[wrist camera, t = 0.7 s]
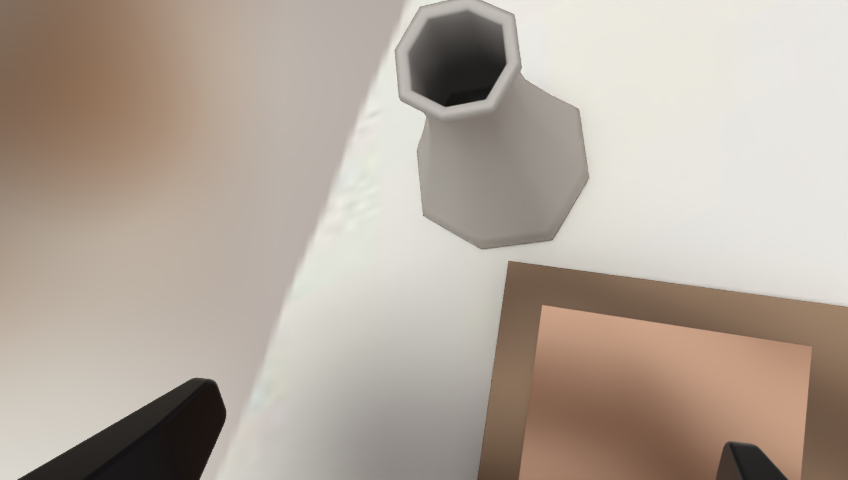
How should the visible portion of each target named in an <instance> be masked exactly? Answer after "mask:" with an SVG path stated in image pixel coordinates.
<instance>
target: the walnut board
mask: <svg viewBox="0 0 848 480" xmlns="http://www.w3.org/2000/svg"><path fill="white" fill-rule="evenodd" d="M728 441H735V442H744V443H751V444H755V445H756V446H758V447H759V448H760V449H761V450H762V451H763V452H764V453H765V454H766V455H767V456H768V457H769V459H770V460H771V461H772V462H773V463H774V464H775V465H776V466H777V467H778V468H779V470H780V471H781V472H782V473H783V474H784V475H785V476H786V477H787V478H788V479H789V480H848V307H844V306H836V305H829V304H821V303H814V302H807V301H799V300H792V299H785V298H777V297H770V296H763V295H755V294H748V293H741V292H733V291H726V290H718V289H711V288H704V287H696V286H689V285H682V284H674V283H667V282H660V281H652V280H645V279H638V278H630V277H623V276H615V275H608V274H601V273H593V272H586V271H579V270H571V269H564V268H557V267H549V266H542V265H535V264H527V263H520V262H513V261H509V262H508V269H507V276H506V283H505V290H504V297H503V304H502V311H501V318H500V325H499V332H498V339H497V346H496V353H495V360H494V367H493V374H492V381H491V388H490V396H489V403H488V410H487V417H486V424H485V431H484V438H483V445H482V452H481V459H480V466H479V473H478V480H716V475H717V471H718V467H719V463H720V459H721V455H722V451H723V447H724V445H725V443H726V442H728Z"/></svg>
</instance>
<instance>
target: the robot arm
mask: <svg viewBox="0 0 848 480" xmlns="http://www.w3.org/2000/svg"><path fill="white" fill-rule="evenodd" d="M225 419H226V408H225V405H224V403H223V399H222V397H221V394H220V391H219V388H218V385H217V383H216V382H215V381H214V380H211V379H204V378H193V379H191V380H189V381H187V382H185V383H184V384H182V385H180V386H178V387H177V388H175V389H173V390H172V391H170V392H168V393H166V394H165V395H163V396H161V397H159V398H158V399H156V400H154V401H152V402H151V403H149V404H147V405H146V406H144V407H142V408H140V409H139V410H137V411H135V412H133V413H132V414H130V415H128V416H127V417H125V418H123V419H121V420H120V421H118V422H116V423H114V424H113V425H111V426H109V427H108V428H106V429H104V430H102V431H101V432H99V433H97V434H96V435H94V436H92V437H91V438H89V439H87V440H85V441H83V442H82V443H80V444H78V445H76V446H75V447H73V448H71V449H70V450H68V451H66V452H65V453H63V454H61V455H59V456H57V457H56V458H54V459H52V460H51V461H49V462H47V463H45V464H44V465H42V466H40V467H39V468H37V469H35V470H33V471H31V472H30V473H28V474H26V475H25V476H23V477H21V478H19V479H18V480H200V477H201V475H202V473H203V470H204V468H205V466H206V464H207V461H208V459H209V457H210V455H211V452H212V450H213V448H214V446H215V443H216V441H217V439H218V437H219V434H220V432H221V430H222V427H223V425H224V423H225ZM716 480H789V479H788V478H787V477H786V476H785V475H784V474H783V473H782V472H781V471H780V470H779V468H778V467H777V466H776V465H775V464H774V463H773V462H772V461H771V460H770V459H769V457H768V456H767V455H766V454H765V453H764V452H763V451H762V450H761V449H760V448H759V447H758V446H756V445H755V444H751V443H744V442H735V441H728V442H726V443H725V445H724V447H723V451H722V455H721V459H720V463H719V467H718V471H717V475H716Z"/></svg>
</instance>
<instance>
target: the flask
mask: <svg viewBox="0 0 848 480" xmlns="http://www.w3.org/2000/svg"><path fill="white" fill-rule="evenodd" d="M395 59H396V70H397V81H398V92H399V98H400V100H401V101H402V102H404V103H406V104H408V105H410V106H412V107H414V108H416V109H418V110H420V111H422V112H424V114H425V115H426V122H425V126H424V130H423V133H422V136H421V139H420V142H419V144H418V148H417V157H418V168H419V178H420V189H421V199H422V210H423V216H425V217H426V218H428V219H430V220H432V221H433V222H435V223H437V224H439V225H440V226H442V227H444V228H446V229H447V230H449V231H451V232H453V233H454V234H456V235H458V236H460V237H461V238H463V239H465V240H467V241H468V242H470V243H472V244H474V245H475V246H477V247H479V248H481V249H484V248H492V247H500V246H507V245H515V244H523V243H531V242H539V241H547V240H553V238H554V236H555V235H556V233H557V231H558V230H559V228H560V226H561V224H562V223H563V221H564V219H565V218H566V216H567V214H568V212H569V211H570V209H571V207H572V206H573V204H574V202H575V201H576V199H577V197H578V195H579V194H580V192H581V190H582V189H583V187H584V185H585V183H586V182H587V180H588V178H589V174H588V167H587V160H586V154H585V147H584V140H583V133H582V126H581V120H580V113H579V109H578V108H576V107H574V106H573V105H570V104H568V103H566V102H564V101H562V100H560V99H558V98H556V97H554V96H552V95H550V94H548V93H547V92H545V91H543V90H542V89H540V88H538V87H537V86H535V85H533V84H532V83H530V82H528V81H527V80H525V78H524V77H523V75H522V74H521V73H520V71H521V68H522V66H521V58H520V51H519V43H518V35H517V28H516V20H515V16H514V14H512V13H510V12H507V11H505V10H503V9H500V8H498V7H496V6H493V5H491V4H489V3H486V2H484V1H482V0H447V1H443V2H438V3H434V4H430V5H426V6H421V7H420V8H419V9H418V11H417V13H416V14H415V16H414V18H413V20H412V21H411V23H410V25H409V26H408V28H407V30H406V32H405V33H404V35H403V37H402V38H401V40H400V42H399V44H398V45H397V47H396V49H395Z"/></svg>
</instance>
